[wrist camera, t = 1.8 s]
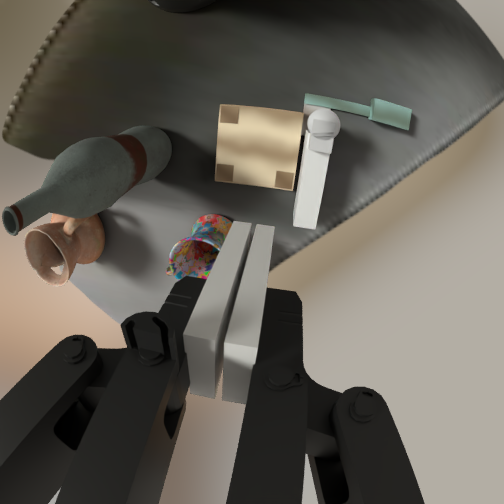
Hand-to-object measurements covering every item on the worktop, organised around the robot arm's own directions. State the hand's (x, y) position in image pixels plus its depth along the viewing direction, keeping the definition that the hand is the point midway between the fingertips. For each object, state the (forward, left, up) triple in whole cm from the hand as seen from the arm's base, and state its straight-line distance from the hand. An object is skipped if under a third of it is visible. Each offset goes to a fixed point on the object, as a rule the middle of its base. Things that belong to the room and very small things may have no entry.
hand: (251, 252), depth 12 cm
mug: (+17, -10, -33) cm, 38 cm away
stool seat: (-2, +5, -32) cm, 33 cm away
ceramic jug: (+18, -38, -33) cm, 53 cm away
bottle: (+2, -21, -33) cm, 39 cm away
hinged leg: (+1, +5, -32) cm, 32 cm away
